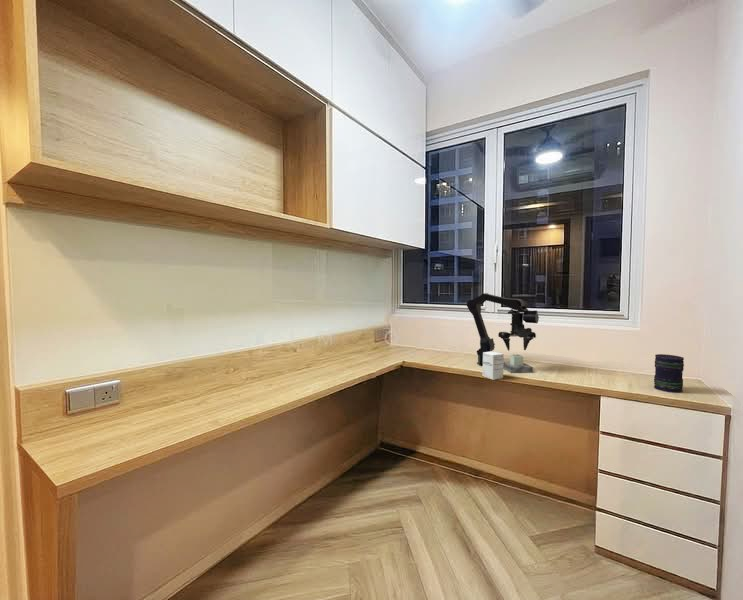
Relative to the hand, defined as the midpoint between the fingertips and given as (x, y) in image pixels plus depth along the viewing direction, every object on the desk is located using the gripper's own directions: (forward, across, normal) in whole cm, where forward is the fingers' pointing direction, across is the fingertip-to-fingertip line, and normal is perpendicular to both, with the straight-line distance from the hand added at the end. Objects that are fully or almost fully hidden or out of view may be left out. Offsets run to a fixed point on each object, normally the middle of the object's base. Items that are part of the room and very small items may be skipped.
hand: (516, 350), depth 186 cm
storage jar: (+11, +51, -38) cm, 65 cm away
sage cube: (+8, 0, 0) cm, 8 cm away
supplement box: (+11, -19, -13) cm, 26 cm away
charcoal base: (+11, 0, 0) cm, 11 cm away
